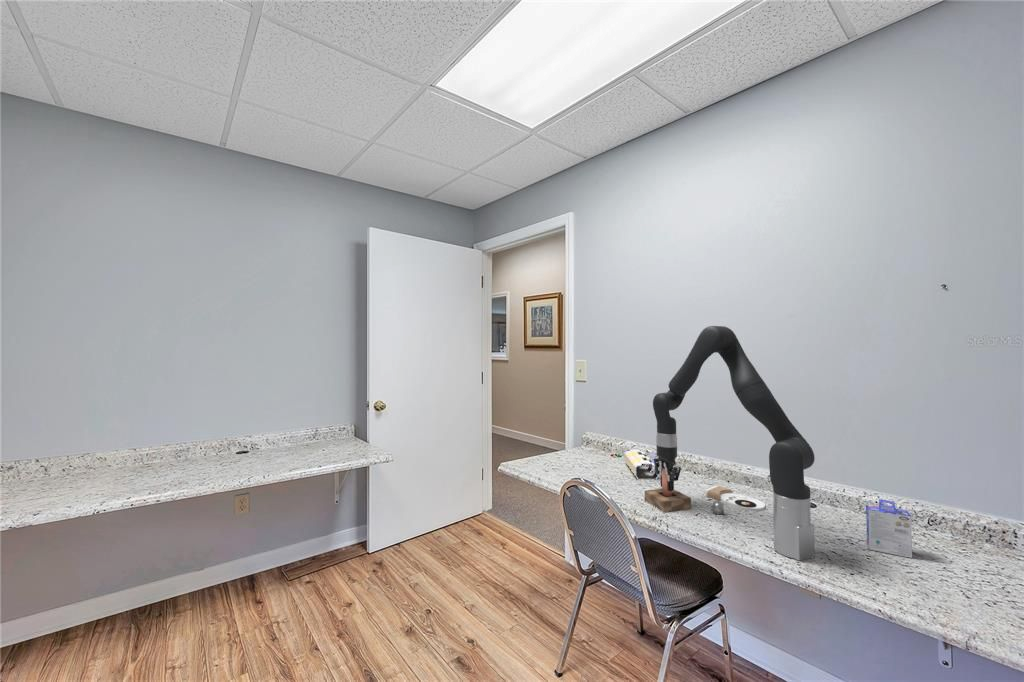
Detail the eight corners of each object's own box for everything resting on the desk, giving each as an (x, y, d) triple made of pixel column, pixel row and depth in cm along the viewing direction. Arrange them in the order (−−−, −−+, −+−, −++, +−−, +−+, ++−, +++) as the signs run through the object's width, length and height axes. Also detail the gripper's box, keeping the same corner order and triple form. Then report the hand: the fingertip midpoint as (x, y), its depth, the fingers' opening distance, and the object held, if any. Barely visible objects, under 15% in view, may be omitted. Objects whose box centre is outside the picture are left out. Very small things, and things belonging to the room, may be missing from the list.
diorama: (658, 480, 189) (658, 452, 190) (635, 480, 190) (635, 451, 190) (644, 464, 214) (644, 439, 214) (624, 464, 215) (624, 439, 215)
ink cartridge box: (908, 550, 124) (907, 502, 124) (913, 559, 120) (913, 508, 120) (865, 542, 130) (864, 496, 130) (868, 550, 125) (868, 501, 125)
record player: (718, 484, 175) (770, 499, 159) (718, 491, 175) (770, 507, 159) (703, 490, 168) (756, 506, 152) (703, 498, 168) (756, 515, 152)
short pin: (725, 515, 151) (725, 504, 151) (717, 516, 150) (717, 505, 150) (718, 511, 154) (718, 500, 154) (710, 512, 153) (710, 501, 153)
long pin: (674, 500, 160) (673, 469, 160) (666, 501, 159) (665, 470, 159) (668, 497, 163) (667, 466, 163) (660, 498, 162) (659, 467, 162)
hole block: (691, 508, 157) (690, 497, 157) (663, 512, 154) (663, 501, 154) (670, 497, 169) (670, 487, 169) (644, 500, 165) (644, 490, 165)
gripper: (687, 447, 155) (687, 494, 155) (663, 439, 169) (663, 481, 169) (670, 449, 153) (670, 496, 153) (647, 440, 167) (647, 483, 167)
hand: (667, 488), depth 161 cm, fingers closed on long pin, 3 cm apart
